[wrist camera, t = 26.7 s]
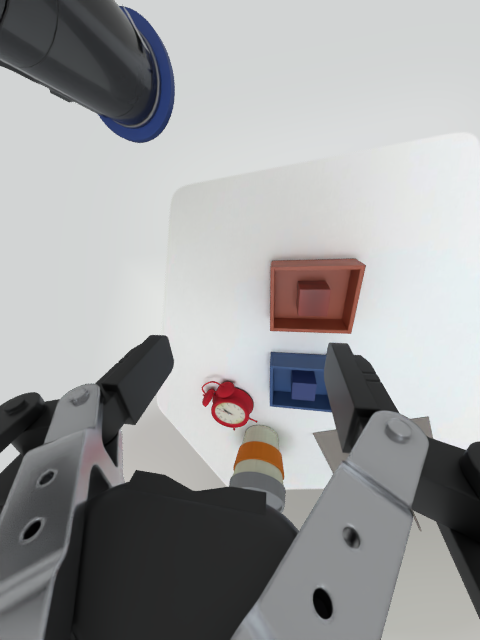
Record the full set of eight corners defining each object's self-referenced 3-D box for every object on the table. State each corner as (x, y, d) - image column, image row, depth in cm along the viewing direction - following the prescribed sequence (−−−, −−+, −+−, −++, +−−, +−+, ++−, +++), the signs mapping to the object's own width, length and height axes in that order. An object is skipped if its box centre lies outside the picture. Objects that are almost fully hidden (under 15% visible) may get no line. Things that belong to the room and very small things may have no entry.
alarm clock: (230, 435, 54) (186, 410, 47) (231, 411, 59) (192, 386, 52) (263, 423, 50) (220, 394, 43) (261, 399, 55) (223, 370, 48)
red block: (296, 304, 38) (297, 316, 34) (297, 280, 36) (299, 289, 32) (322, 305, 37) (327, 316, 33) (325, 280, 35) (331, 289, 31)
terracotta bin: (271, 319, 41) (270, 331, 37) (271, 260, 36) (270, 267, 32) (344, 321, 38) (351, 333, 34) (355, 258, 33) (365, 265, 29)
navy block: (290, 383, 47) (291, 399, 43) (291, 367, 45) (292, 382, 41) (311, 384, 46) (314, 401, 42) (313, 368, 44) (316, 384, 40)
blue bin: (270, 390, 49) (269, 406, 45) (270, 352, 44) (269, 365, 40) (329, 395, 47) (334, 412, 43) (337, 355, 42) (343, 370, 38)
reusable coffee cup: (288, 426, 54) (290, 495, 41) (280, 453, 60) (280, 521, 47) (240, 416, 56) (228, 480, 42) (237, 444, 62) (226, 508, 48)
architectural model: (312, 433, 54) (322, 499, 41) (428, 416, 45) (484, 494, 33) (336, 478, 61) (350, 546, 49) (439, 472, 52) (488, 552, 40)
